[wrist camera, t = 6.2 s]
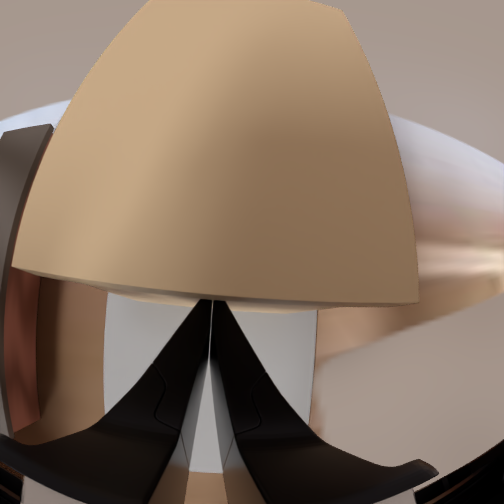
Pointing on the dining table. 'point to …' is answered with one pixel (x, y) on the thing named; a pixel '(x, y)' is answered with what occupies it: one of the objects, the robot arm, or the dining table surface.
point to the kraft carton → (227, 166)
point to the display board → (163, 327)
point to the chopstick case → (18, 280)
